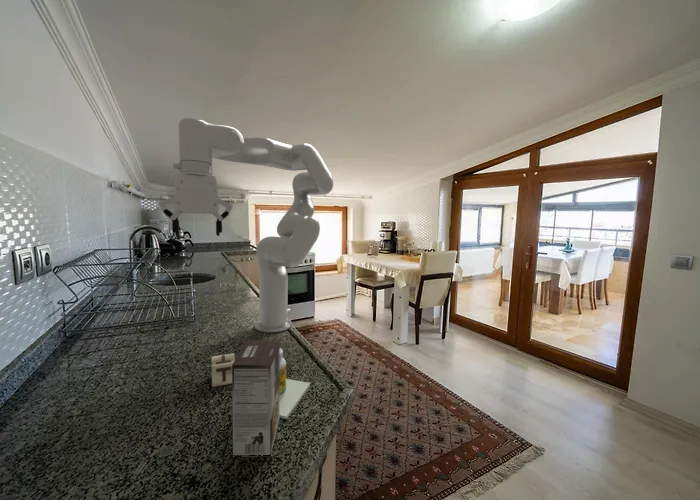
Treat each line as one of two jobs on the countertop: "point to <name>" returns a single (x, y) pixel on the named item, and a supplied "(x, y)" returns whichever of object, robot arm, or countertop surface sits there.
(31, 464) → the countertop surface
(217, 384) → the letter cube
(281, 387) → the supplement bottle
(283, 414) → the sage pad
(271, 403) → the coffee box
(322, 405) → the countertop surface
